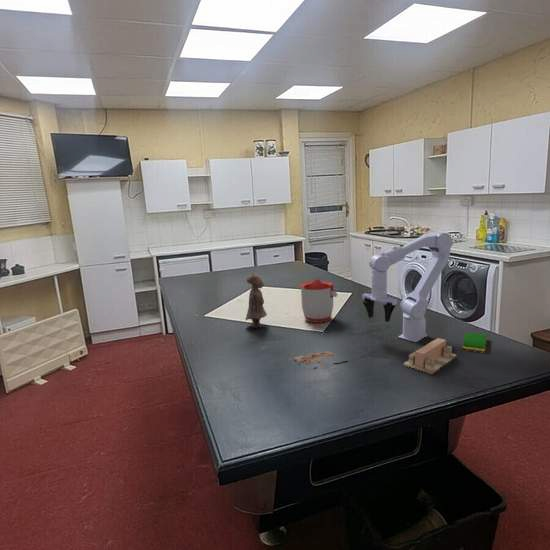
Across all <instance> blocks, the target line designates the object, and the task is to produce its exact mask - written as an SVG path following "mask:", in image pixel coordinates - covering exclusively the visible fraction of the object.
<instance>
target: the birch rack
mask: <svg viewBox="0 0 550 550" xmlns="http://www.w3.org/2000/svg"><path fill="white" fill-rule="evenodd" d="M429 343H430V342H428V343H427V344H429ZM452 349H453V348H452V346H449V345H446V347H445V348H444V351H443V355H442V356H440V357H439V358H437V359H436V360H434V358H431V357H429V358H428V359H426V360H425V367H424V368H422V367H418V366H415V351H414V352H412V353H409V355H408V359H407V361H405V362H404V363H403V366H404V365H405V366H404V367H406V366H408V367H407V368H409V367H411V368H410V369H412V368H415V369H417V370H416V371H418V370H420V371H419V372H421V371H423V372H422V373H424V372H427V373H430V374H432V373H433V374H435V373H436V372H437V371H436V370H438V369H439V368H440V367H442V366H443V365H445V364H446V363H448V362H449V361H450V362H452V361H453V360H454V359H453V358H455V357H456V358H457V354H455V353H452ZM456 358H455V359H456ZM452 359H453V360H452ZM451 360H452V361H451ZM450 362H449V363H450ZM449 363H448V364H449ZM446 365H447V364H446ZM446 365H445V366H446ZM443 367H444V366H443ZM443 367H442V368H443ZM415 369H414V370H415ZM439 370H440V369H439ZM439 370H438V371H439ZM435 371H436V372H435ZM434 372H435V373H434ZM427 373H426V374H427ZM430 374H429V375H430ZM433 374H432V375H433Z"/></svg>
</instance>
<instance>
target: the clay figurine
mask: <svg viewBox="0 0 550 550" xmlns="http://www.w3.org/2000/svg"><path fill="white" fill-rule="evenodd" d="M246 282H247V283H248V284H249V285H251V289H249V296H248V308H247V311H246V317H245V321H247V320H251V321H252V322H251V323H250V325H251V328H260V329H261V328H262V323H261V322H260V321H261V319H263V318H265V317H267V315H268V314H267V312H266V310H265V308H264V306H263V305H264V303H265V300H264V297H263V292H262V290H260V289H262V288H263V287H264V286H265V284H264V282H263V278H261V277H260V275H259V274H257V273H250V274H249V275H248V276H247V277H246Z"/></svg>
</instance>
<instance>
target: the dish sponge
mask: <svg viewBox="0 0 550 550" xmlns="http://www.w3.org/2000/svg"><path fill="white" fill-rule="evenodd" d="M487 336H488V335H487V334H482V333H475V332H466V333H465V337H464V341H463V344H462V349H463V348H465V349H475V350H482V351H485V352H486V346H487V338H488V337H487ZM485 345H486V346H485Z"/></svg>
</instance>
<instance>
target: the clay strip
mask: <svg viewBox="0 0 550 550" xmlns="http://www.w3.org/2000/svg"><path fill="white" fill-rule="evenodd" d="M428 343H429V344H428ZM428 343H427V344H426V345H424V346H422V347H420V348H419V349H417V350H416V351H415V350H414V353H415V366H418V367H422V368H424V367H425V360H426V359H428V358H429V357H431V358H434V360H436V359H437V358H439V357H440V356H442V355H443V351H444V348H445V347H446V346H447V340H446V339H443V338H439V337H437V338H435V339H433V340H431V341H430V342H428Z"/></svg>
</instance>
